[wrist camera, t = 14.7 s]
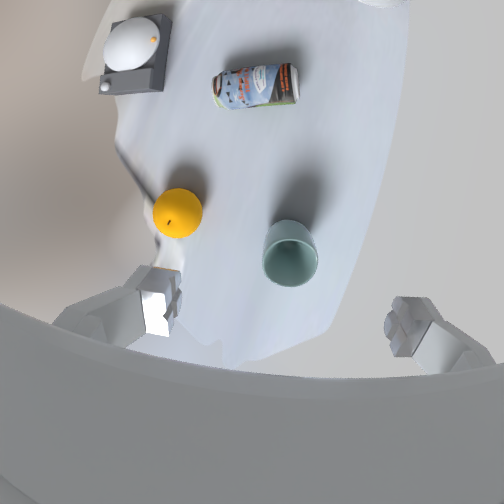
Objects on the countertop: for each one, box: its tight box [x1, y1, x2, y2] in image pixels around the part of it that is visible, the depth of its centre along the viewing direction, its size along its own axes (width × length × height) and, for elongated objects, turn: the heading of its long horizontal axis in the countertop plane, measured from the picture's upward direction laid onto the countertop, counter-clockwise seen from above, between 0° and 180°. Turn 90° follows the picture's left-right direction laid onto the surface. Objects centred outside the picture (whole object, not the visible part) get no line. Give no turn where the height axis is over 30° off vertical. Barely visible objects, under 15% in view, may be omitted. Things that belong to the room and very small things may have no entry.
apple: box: [153, 188, 202, 238], centre depth 42 cm, size 8×8×8 cm
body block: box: [99, 14, 172, 95], centre depth 31 cm, size 13×10×6 cm
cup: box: [262, 220, 318, 287], centre depth 42 cm, size 8×8×10 cm
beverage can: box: [211, 63, 300, 110], centre depth 33 cm, size 6×7×12 cm
